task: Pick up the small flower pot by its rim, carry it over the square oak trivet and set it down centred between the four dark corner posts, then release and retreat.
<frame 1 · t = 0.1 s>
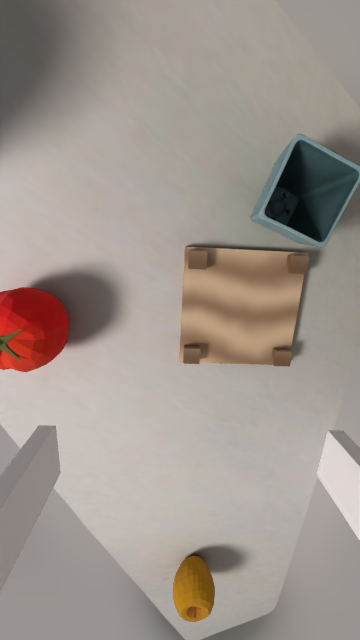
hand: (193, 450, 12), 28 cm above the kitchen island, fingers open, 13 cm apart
apple: (191, 558, 54), on the kitchen island
tomato: (41, 319, 39), on the kitchen island
trivet: (238, 308, 39), on the kitchen island
flower pot: (276, 208, 35), on the kitchen island
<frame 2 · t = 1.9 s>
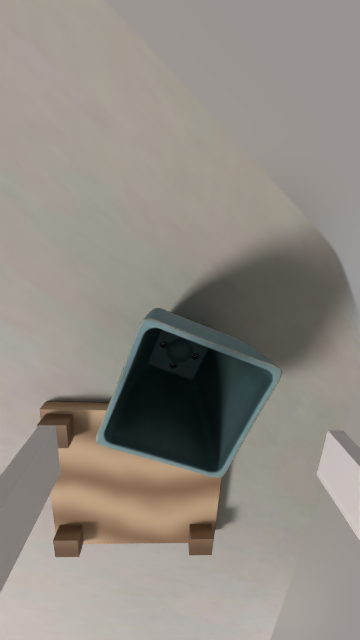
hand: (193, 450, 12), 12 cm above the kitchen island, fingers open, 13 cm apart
trivet: (137, 473, 27), on the kitchen island
flower pot: (180, 348, 23), on the kitchen island
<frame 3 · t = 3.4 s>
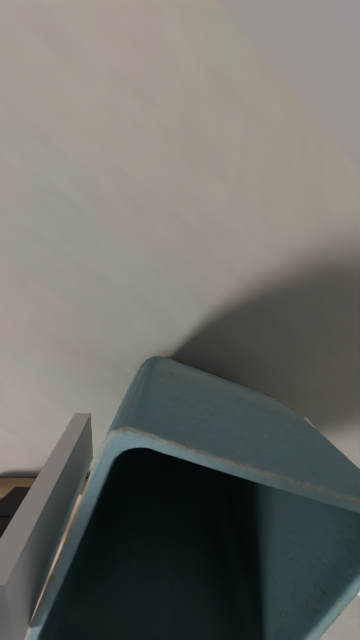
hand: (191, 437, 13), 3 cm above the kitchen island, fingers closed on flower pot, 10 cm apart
trivet: (127, 568, 19), on the kitchen island
flower pot: (188, 402, 16), on the kitchen island, touching gripper
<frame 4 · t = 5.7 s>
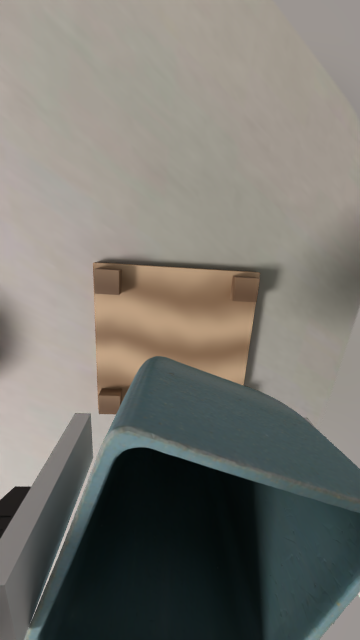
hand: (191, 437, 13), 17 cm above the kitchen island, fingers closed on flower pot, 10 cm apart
trivet: (173, 342, 30), on the kitchen island
flower pot: (188, 402, 16), point 14 cm above the kitchen island, touching gripper
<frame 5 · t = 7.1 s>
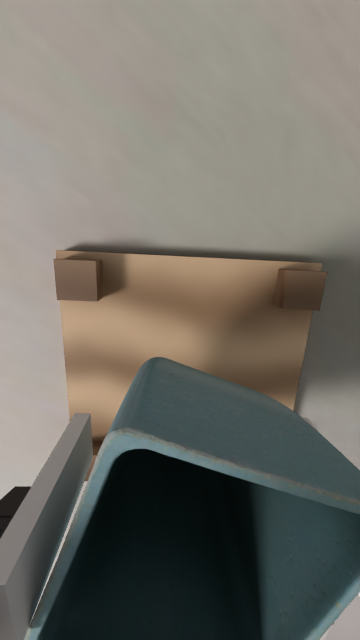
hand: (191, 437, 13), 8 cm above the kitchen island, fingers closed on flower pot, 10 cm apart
trivet: (184, 370, 20), on the kitchen island
flower pot: (188, 402, 16), point 4 cm above the kitchen island, touching gripper
when the fingers open (5 cm above the kitchen island, at t = 8.1 s): flower pot stays where it is, resting on trivet.
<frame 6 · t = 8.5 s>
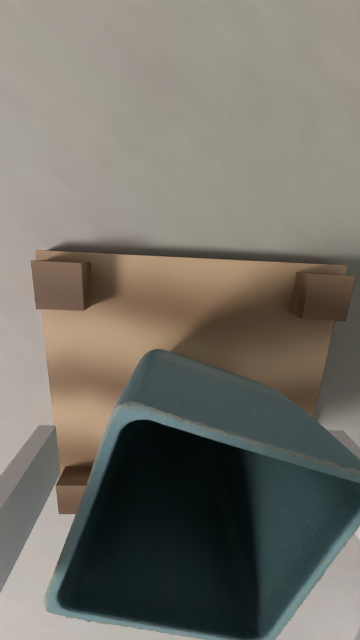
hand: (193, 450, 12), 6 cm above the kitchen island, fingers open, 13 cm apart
trivet: (186, 386, 18), on the kitchen island
flower pot: (188, 393, 17), point 1 cm above the kitchen island, touching trivet
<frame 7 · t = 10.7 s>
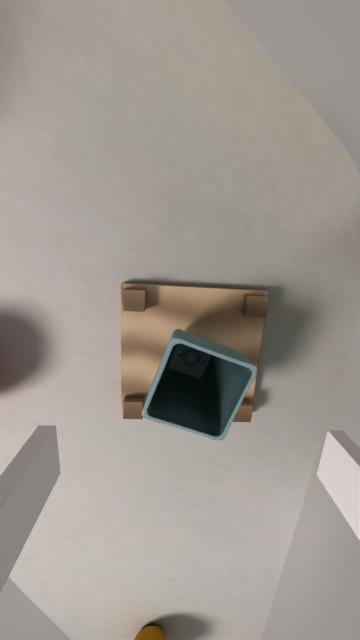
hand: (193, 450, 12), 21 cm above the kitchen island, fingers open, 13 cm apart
apple: (150, 627, 47), on the kitchen island
trivet: (190, 353, 33), on the kitchen island
flower pot: (191, 355, 32), point 1 cm above the kitchen island, touching trivet
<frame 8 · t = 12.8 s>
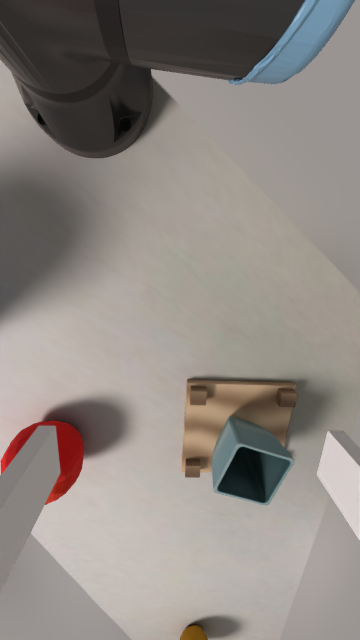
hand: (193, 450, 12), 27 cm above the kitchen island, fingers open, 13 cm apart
apple: (192, 626, 59), on the kitchen island
tomato: (58, 436, 43), on the kitchen island
trivet: (234, 426, 43), on the kitchen island
flower pot: (236, 430, 42), point 1 cm above the kitchen island, touching trivet
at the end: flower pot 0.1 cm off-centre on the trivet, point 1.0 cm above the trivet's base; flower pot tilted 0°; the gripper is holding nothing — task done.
